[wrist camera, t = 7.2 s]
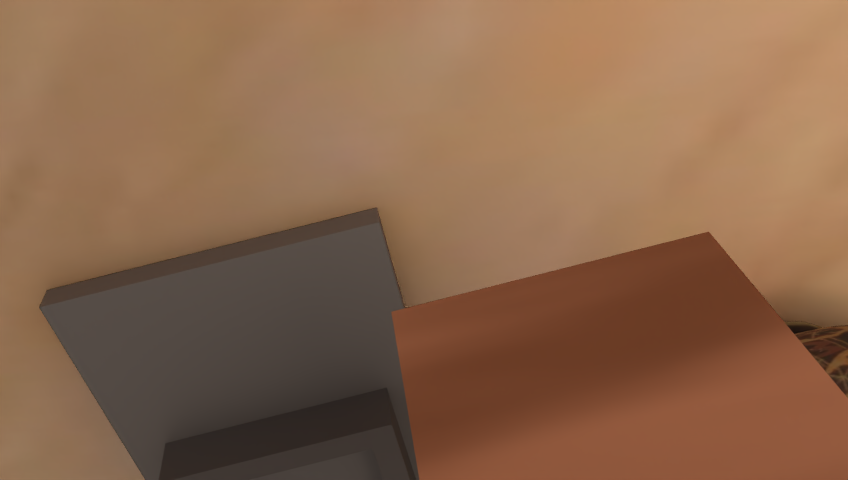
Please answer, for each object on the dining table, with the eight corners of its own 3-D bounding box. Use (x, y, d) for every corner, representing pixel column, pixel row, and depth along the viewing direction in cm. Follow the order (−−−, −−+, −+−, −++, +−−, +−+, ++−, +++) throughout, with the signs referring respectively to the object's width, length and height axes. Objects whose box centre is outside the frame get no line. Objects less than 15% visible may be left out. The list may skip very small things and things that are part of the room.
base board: (46, 290, 28) (22, 345, 25) (377, 207, 28) (384, 253, 25) (235, 604, 39) (231, 664, 36) (471, 545, 39) (483, 601, 36)
